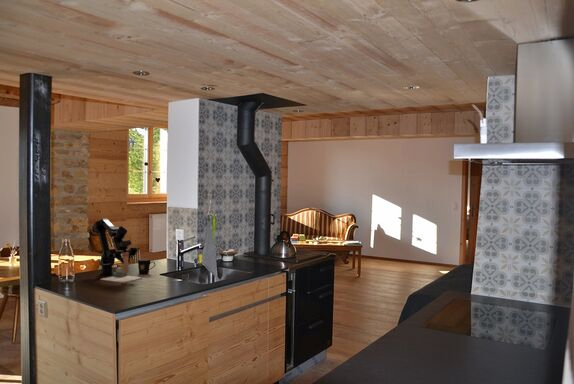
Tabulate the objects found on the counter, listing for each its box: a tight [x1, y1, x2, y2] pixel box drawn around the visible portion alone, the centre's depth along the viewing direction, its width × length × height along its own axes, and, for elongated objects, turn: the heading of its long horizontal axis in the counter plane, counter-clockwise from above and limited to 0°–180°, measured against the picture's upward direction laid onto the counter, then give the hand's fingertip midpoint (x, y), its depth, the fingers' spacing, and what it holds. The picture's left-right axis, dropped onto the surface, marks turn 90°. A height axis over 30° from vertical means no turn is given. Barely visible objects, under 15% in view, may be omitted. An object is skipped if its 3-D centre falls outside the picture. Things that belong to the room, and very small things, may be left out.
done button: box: [115, 266, 122, 273], centre depth 316 cm, size 4×4×4 cm
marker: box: [121, 252, 129, 274], centre depth 303 cm, size 4×4×13 cm
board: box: [100, 271, 143, 284], centre depth 310 cm, size 20×17×3 cm
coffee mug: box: [137, 258, 156, 276], centre depth 329 cm, size 12×9×10 cm
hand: (126, 262), depth 302 cm, fingers closed on marker, 4 cm apart
